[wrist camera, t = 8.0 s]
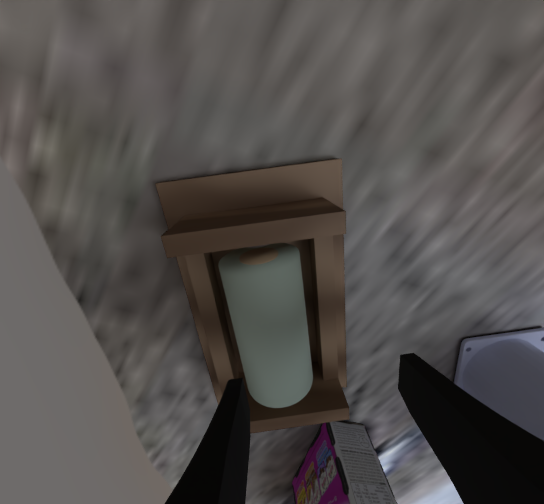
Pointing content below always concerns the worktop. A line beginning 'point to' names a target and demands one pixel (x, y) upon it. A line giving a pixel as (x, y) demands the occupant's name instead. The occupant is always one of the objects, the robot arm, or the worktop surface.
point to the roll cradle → (258, 233)
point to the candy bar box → (342, 469)
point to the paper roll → (269, 321)
